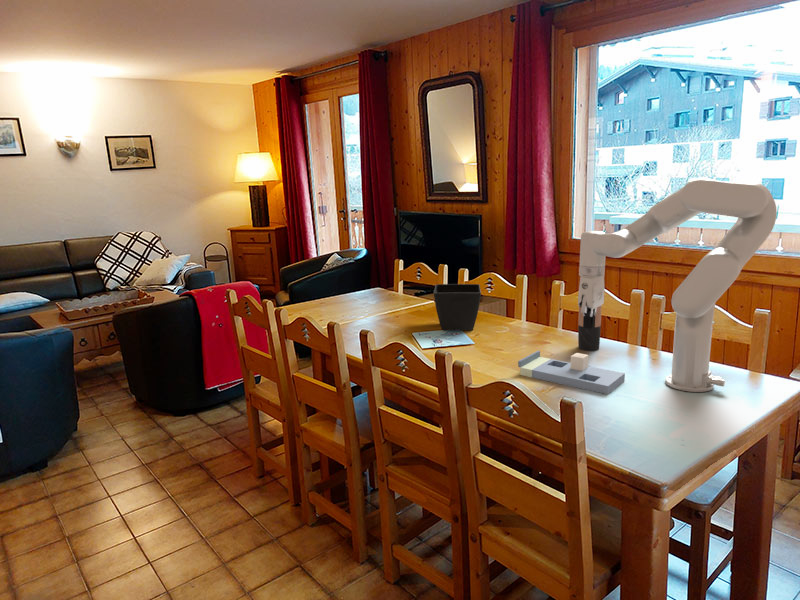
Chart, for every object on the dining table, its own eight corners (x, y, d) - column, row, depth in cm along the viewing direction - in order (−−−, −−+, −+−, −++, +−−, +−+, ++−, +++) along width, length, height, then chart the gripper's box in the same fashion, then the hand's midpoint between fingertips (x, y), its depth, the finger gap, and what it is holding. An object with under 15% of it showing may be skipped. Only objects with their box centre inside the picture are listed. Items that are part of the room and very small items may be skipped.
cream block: (588, 367, 177) (588, 355, 176) (582, 370, 174) (583, 358, 173) (575, 364, 180) (576, 352, 179) (570, 368, 177) (570, 356, 176)
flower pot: (479, 320, 247) (479, 283, 243) (481, 332, 229) (481, 292, 225) (436, 321, 249) (435, 283, 245) (434, 333, 231) (433, 292, 227)
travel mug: (585, 352, 199) (587, 296, 195) (573, 346, 207) (574, 292, 202) (604, 349, 201) (606, 294, 197) (591, 343, 209) (593, 290, 204)
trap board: (624, 381, 171) (625, 366, 170) (607, 394, 162) (608, 379, 161) (537, 363, 190) (537, 350, 189) (518, 374, 180) (518, 361, 179)
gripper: (593, 276, 168) (590, 335, 172) (613, 268, 179) (609, 324, 183) (569, 273, 173) (567, 331, 177) (590, 266, 184) (587, 321, 188)
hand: (588, 327), depth 180 cm, fingers closed
